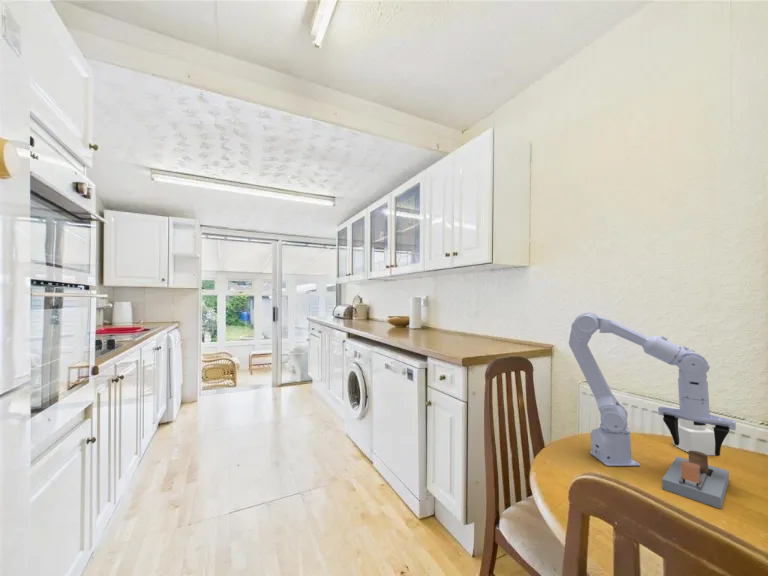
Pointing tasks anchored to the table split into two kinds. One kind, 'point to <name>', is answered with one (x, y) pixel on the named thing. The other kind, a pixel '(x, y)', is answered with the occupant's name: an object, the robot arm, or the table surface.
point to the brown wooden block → (699, 460)
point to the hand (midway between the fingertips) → (696, 449)
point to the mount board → (706, 491)
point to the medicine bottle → (695, 437)
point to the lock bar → (691, 473)
